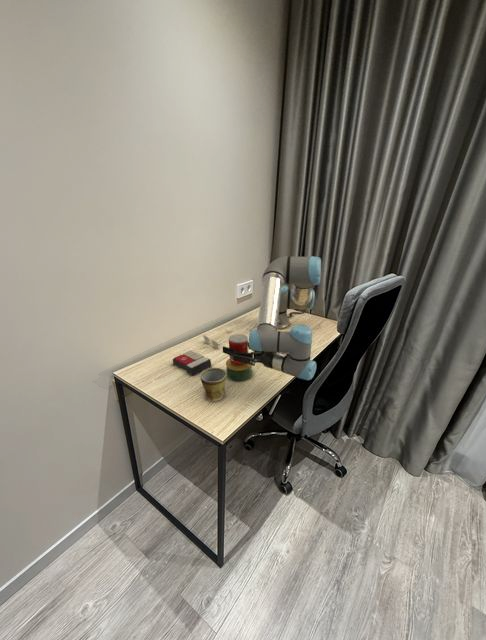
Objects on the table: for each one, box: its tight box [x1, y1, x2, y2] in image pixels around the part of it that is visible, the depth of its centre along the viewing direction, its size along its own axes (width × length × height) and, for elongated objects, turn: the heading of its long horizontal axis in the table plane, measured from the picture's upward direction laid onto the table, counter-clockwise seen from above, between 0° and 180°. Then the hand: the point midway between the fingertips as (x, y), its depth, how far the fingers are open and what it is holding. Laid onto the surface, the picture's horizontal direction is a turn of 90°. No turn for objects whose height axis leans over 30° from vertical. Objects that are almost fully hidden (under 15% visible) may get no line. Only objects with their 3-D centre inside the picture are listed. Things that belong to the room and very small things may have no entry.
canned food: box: [228, 333, 249, 365], centre depth 118 cm, size 8×8×11 cm
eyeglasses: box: [202, 328, 231, 349], centre depth 154 cm, size 15×18×4 cm
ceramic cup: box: [199, 366, 227, 402], centre depth 110 cm, size 13×10×10 cm
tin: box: [225, 358, 253, 382], centre depth 123 cm, size 11×11×6 cm
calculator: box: [172, 350, 212, 376], centre depth 131 cm, size 11×4×15 cm
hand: (229, 345), depth 121 cm, fingers closed on canned food, 8 cm apart
